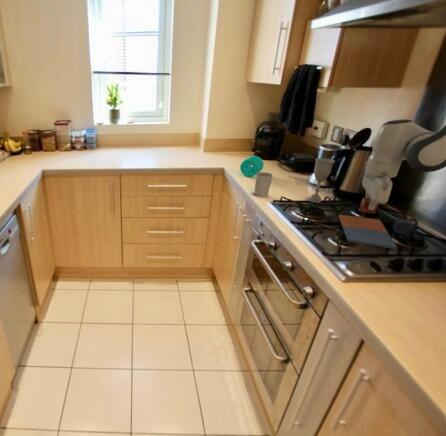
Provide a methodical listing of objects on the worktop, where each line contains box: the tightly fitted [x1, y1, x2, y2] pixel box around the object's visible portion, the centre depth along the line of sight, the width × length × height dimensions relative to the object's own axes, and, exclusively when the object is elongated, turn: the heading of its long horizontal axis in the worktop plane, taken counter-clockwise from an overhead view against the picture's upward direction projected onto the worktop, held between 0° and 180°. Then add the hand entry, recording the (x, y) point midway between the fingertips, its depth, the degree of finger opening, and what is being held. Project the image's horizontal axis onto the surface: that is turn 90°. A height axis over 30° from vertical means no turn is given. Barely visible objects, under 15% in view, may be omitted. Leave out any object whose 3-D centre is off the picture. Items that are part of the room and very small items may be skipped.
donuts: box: [239, 155, 264, 178], centre depth 174 cm, size 10×10×10 cm
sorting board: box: [338, 214, 398, 250], centre depth 112 cm, size 13×22×1 cm, turn 154°
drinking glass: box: [253, 171, 273, 198], centre depth 145 cm, size 7×7×10 cm
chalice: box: [308, 157, 336, 204], centre depth 136 cm, size 7×7×18 cm
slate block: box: [391, 217, 414, 235], centre depth 111 cm, size 4×4×4 cm
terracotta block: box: [359, 197, 380, 214], centre depth 113 cm, size 4×4×4 cm
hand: (368, 206), depth 113 cm, fingers closed on terracotta block, 4 cm apart
